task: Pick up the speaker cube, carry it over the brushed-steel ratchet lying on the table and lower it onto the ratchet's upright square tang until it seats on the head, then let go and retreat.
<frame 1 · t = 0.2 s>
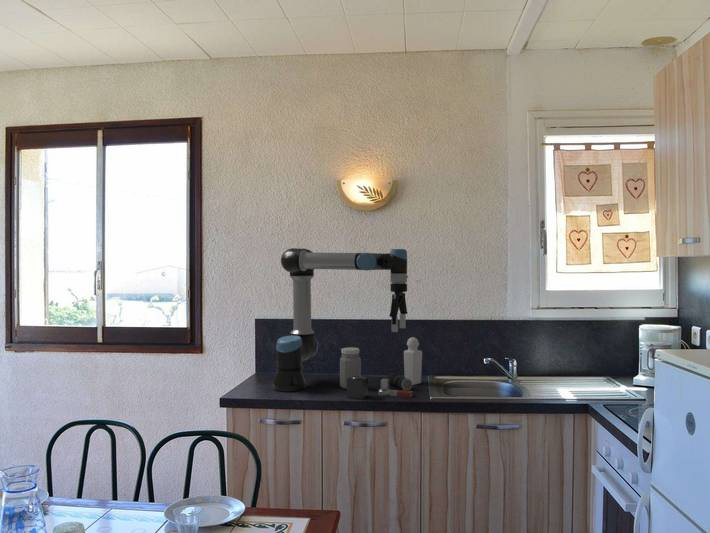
hand: (398, 330, 245), 27 cm above the countertop, fingers open, 13 cm apart
flashlight: (399, 387, 252), on the countertop
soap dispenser: (412, 383, 260), on the countertop
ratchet: (385, 394, 238), on the countertop
jar: (350, 387, 251), on the countertop
speaker cube: (357, 396, 234), on the countertop
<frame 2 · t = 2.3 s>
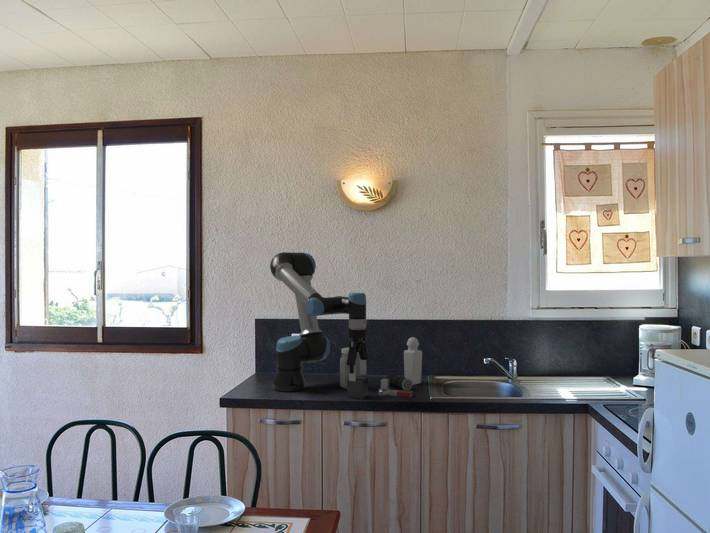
hand: (357, 377, 234), 8 cm above the countertop, fingers open, 13 cm apart
nothing on the countertop moved.
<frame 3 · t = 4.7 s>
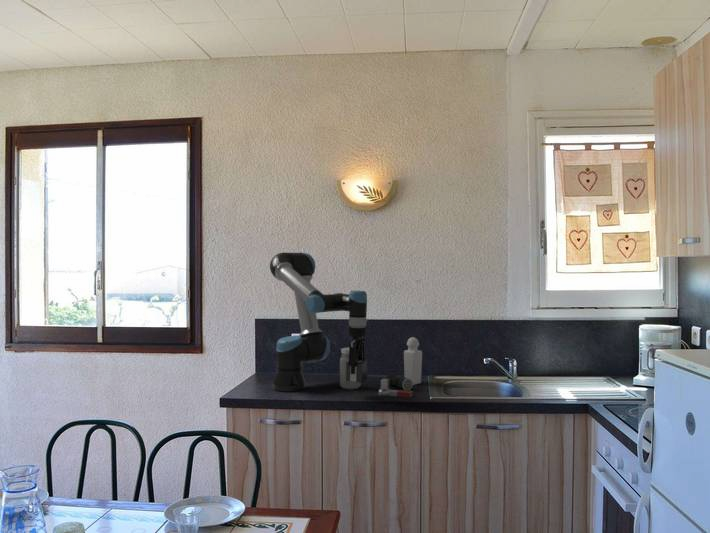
hand: (356, 379, 234), 7 cm above the countertop, fingers closed on speaker cube, 7 cm apart
speaker cube: (356, 379, 234), point 7 cm above the countertop, touching gripper
everything else where it was.
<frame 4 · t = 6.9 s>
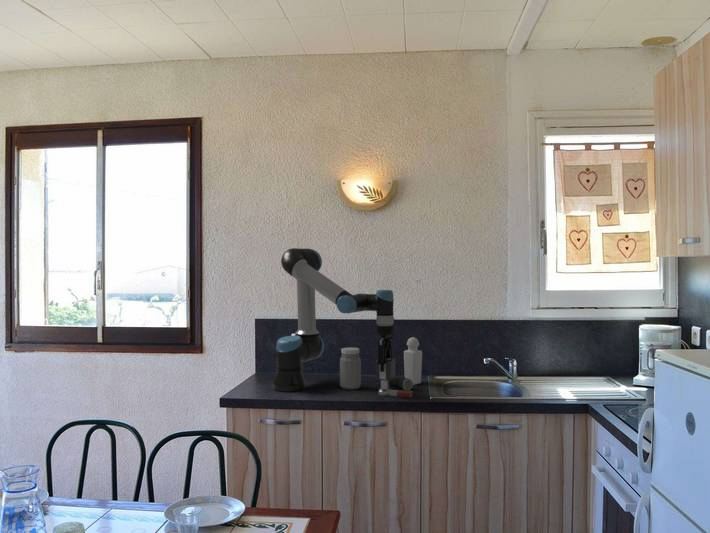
hand: (385, 377, 238), 8 cm above the countertop, fingers closed on speaker cube, 7 cm apart
speaker cube: (385, 377, 238), point 7 cm above the countertop, touching gripper
everything else where it was.
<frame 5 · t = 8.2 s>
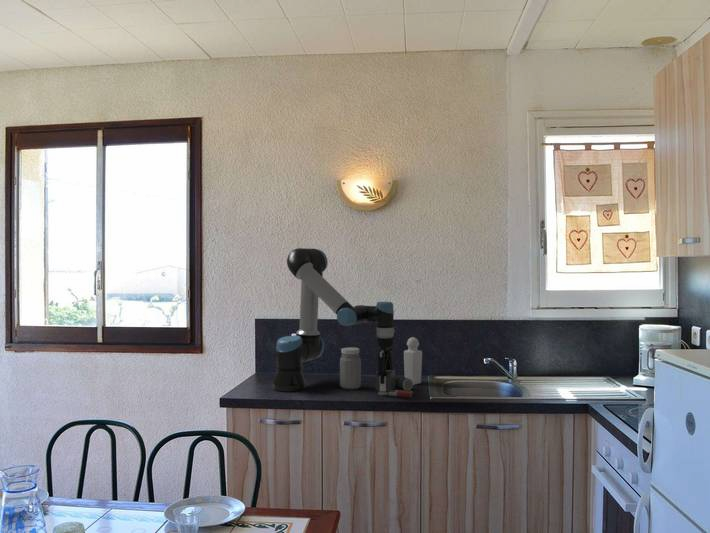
hand: (385, 389, 238), 2 cm above the countertop, fingers closed on speaker cube, 7 cm apart
speaker cube: (385, 389, 238), point 2 cm above the countertop, touching gripper, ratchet
everything else where it was.
when the fingers open (2 cm above the countertop, at t = 9.2 s): speaker cube stays where it is, resting on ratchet.
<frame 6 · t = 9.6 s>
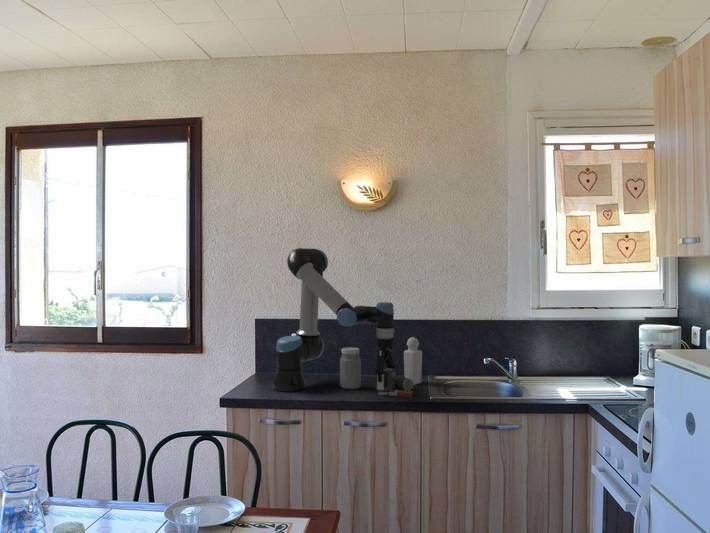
hand: (385, 386, 238), 4 cm above the countertop, fingers open, 13 cm apart
speaker cube: (385, 389, 238), point 2 cm above the countertop, touching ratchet
everything else where it was.
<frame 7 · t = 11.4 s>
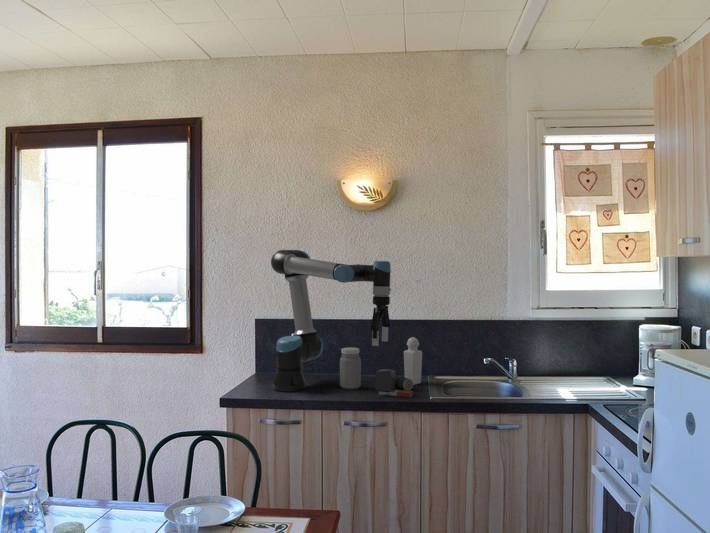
hand: (380, 343, 240), 22 cm above the countertop, fingers open, 13 cm apart
nothing on the countertop moved.
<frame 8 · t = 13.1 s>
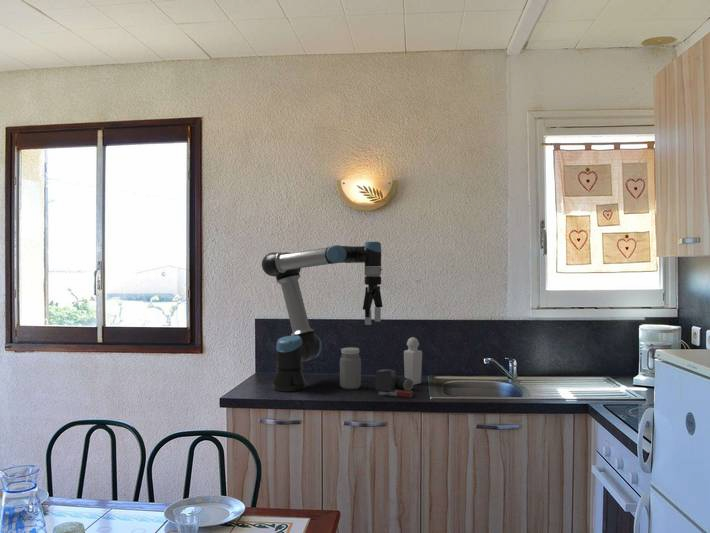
hand: (372, 323, 244), 31 cm above the countertop, fingers open, 13 cm apart
nothing on the countertop moved.
at the end: speaker cube 0.1 cm off-centre on the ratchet, point 2.2 cm above the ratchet's base; speaker cube tilted 3°; the gripper is holding nothing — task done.
